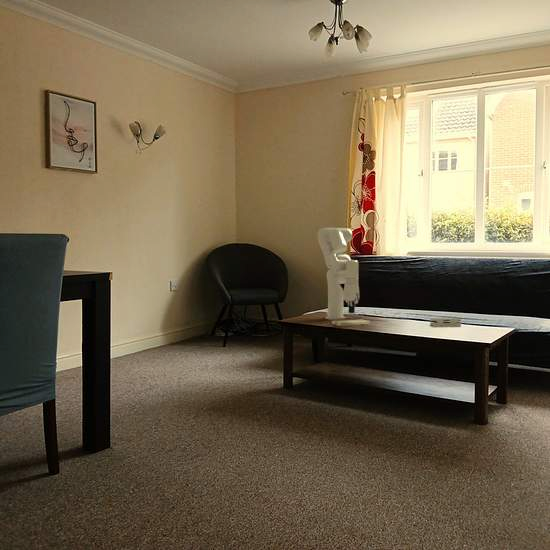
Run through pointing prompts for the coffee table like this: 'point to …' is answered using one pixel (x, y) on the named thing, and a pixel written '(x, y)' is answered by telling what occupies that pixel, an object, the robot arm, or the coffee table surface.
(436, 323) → the grey rounded slab
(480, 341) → the coffee table surface
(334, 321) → the cabinet panel
